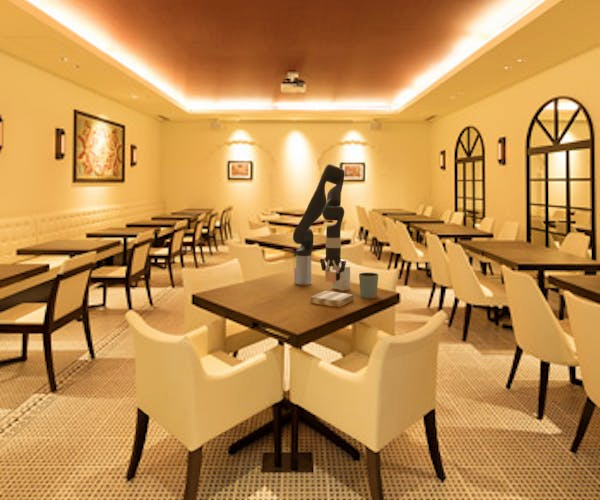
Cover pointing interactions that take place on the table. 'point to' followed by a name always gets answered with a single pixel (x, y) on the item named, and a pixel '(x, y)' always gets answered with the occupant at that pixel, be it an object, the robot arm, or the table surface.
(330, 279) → the terracotta cube
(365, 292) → the grey cylindrical piece
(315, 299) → the maple base
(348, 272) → the small box
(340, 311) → the table surface
